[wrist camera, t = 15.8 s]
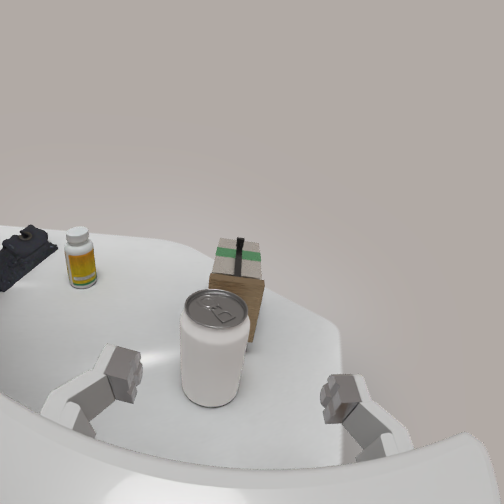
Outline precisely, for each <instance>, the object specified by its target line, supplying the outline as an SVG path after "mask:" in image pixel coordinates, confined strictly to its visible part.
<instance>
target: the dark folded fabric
mask: <svg viewBox="0 0 504 504" xmlns="http://www.w3.org/2000/svg"><path fill="white" fill-rule="evenodd" d="M20 233H21V235H13V236H12V237H11V238H10V239H6V240H4V241H3V243H2V245H3V248H2V250H0V291H3V292H5V291H6V290H7V289H9V288H11V287H12V286H13V285H14V284H15V283H16V282H17V281H19V280H20V279H21V278H22V277H23V276H25V275H26V274H27V273H28V272H30V271H31V270H32V269H34V268H35V267H36V266H37V265H38V264H39V263H41V262H42V261H43V260H44V259H46V258H47V257H48V256H50V255H51V254H52V253H54V252H55V251H56V250H57V249H58V247H57V245H54V244H52V243H49V242H48V241H47V240H48V233H46V232H45V231H44V230H41V229H38V228H35V227H34V226H33V225H29V226H28V227H26V228H25V229H23V230H21V231H20Z"/></svg>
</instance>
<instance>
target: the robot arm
mask: <svg viewBox="0 0 504 504" xmlns="http://www.w3.org/2000/svg"><path fill="white" fill-rule="evenodd" d="M140 359H141V355H140V352H137V351H133V350H129V349H126V348H122V347H119V346H115V345H111V344H108V343H107V344H106V345H105V346H104V348H103V350H102V352H101V354H100V356H99V357H98V359H97V361H96V363H95V365H94V368H93V370H88V371H86V372H84V373H82V374H81V375H79V376H77V377H76V378H74V379H72V380H70V381H69V382H67V383H65V384H63V385H62V386H60V387H58V388H56V389H55V390H53V391H51V392H50V394H49V396H48V397H47V399H46V401H45V403H44V405H43V407H42V410H41V412H40V414H38V413H36V412H34V411H32V410H30V409H29V408H27V407H25V406H23V405H22V404H20V403H18V402H16V401H15V400H13V399H11V398H10V397H8V396H7V395H5V394H3V393H2V392H0V504H501V500H500V494H499V489H498V485H497V480H496V476H495V472H494V469H493V466H492V462H491V459H490V456H489V454H488V451H487V449H486V447H485V445H484V444H483V443H482V442H481V441H480V440H479V439H477V438H476V437H474V436H473V435H472V434H470V433H468V432H461V433H459V434H456V435H454V436H451V437H449V438H446V439H443V440H441V441H438V442H435V443H432V444H429V445H426V446H423V447H420V448H416V449H414V446H413V444H412V441H411V438H410V435H409V432H408V430H407V428H406V427H405V426H404V425H402V424H401V423H400V422H399V421H397V420H396V419H395V418H394V417H393V416H392V415H391V414H389V413H388V412H387V411H386V410H385V409H383V408H382V407H381V406H380V405H379V404H378V403H376V402H375V401H372V399H371V396H370V394H369V391H368V388H367V385H366V383H365V380H364V377H363V375H362V374H333V375H330V376H329V377H328V379H327V381H328V383H327V384H325V385H324V386H323V387H322V389H321V393H320V402H321V405H322V406H323V407H324V408H325V409H324V411H323V416H324V421H325V424H336V423H342V425H343V426H344V427H345V429H346V430H347V431H348V432H349V433H350V434H351V436H352V437H353V438H354V439H355V440H356V441H357V443H358V444H359V445H360V446H361V447H362V448H363V451H362V452H361V453H359V454H358V455H357V456H356V457H355V458H356V463H350V464H343V465H335V466H327V467H316V468H303V469H240V468H227V467H216V466H207V465H200V464H193V463H187V462H181V461H175V460H170V459H165V458H160V457H156V456H151V455H147V454H143V453H139V452H136V451H132V450H128V449H125V448H122V447H118V446H115V445H112V444H109V443H106V442H103V441H100V440H97V439H95V436H96V432H95V431H94V429H93V428H92V426H91V424H90V423H89V422H90V421H91V420H92V419H93V418H95V417H96V416H97V415H98V414H99V413H101V412H102V411H103V410H104V409H106V408H107V407H108V406H109V405H110V404H112V403H113V402H114V401H115V399H116V400H119V401H123V402H127V403H131V404H134V401H135V398H136V395H137V389H136V386H138V385H139V384H140V382H141V379H142V373H143V367H142V364H141V363H140Z"/></svg>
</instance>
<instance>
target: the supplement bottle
mask: <svg viewBox="0 0 504 504" xmlns="http://www.w3.org/2000/svg"><path fill="white" fill-rule="evenodd" d="M66 237H67V241H68V242H67V243H66V244H65V247H64V251H65V258H66V264H67V270H68V276H69V281H70V284H71V285H72V286H73V287H75V288H88V287H90V286H92V285H93V284H94V283H95V282H96V280H97V275H96V267H95V259H94V249H93V243H92V241H91V240H89V239H88V237H89V233H88V229H87V228H86V227H74V228H71V229H69V230H68V231H67V232H66Z"/></svg>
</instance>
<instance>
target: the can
mask: <svg viewBox="0 0 504 504" xmlns="http://www.w3.org/2000/svg"><path fill="white" fill-rule="evenodd" d="M249 331H250V320H249V317H248V306H247V304H246V303H245V301H244V300H243V299H242V298H240V297H239V296H238V295H236V294H234V293H231V292H229V291H225V290H220V289H205V290H201V291H197V292H195V293H193V294H192V295H190V296H189V297H188V298H187V300H186V302H185V308H184V310H183V311H182V314H181V317H180V356H181V377H182V387H183V390H184V393H185V394H186V396H187V397H188V398H189V399H190V400H192V401H193V402H195V403H197V404H199V405H202V406H206V407H218V406H222V405H225V404H227V403H229V402H230V401H231V400H232V399H233V398H234V397H235V395H236V393H237V391H238V386H239V382H240V377H241V372H242V367H243V362H244V357H245V352H246V347H247V342H248V336H249Z"/></svg>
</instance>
